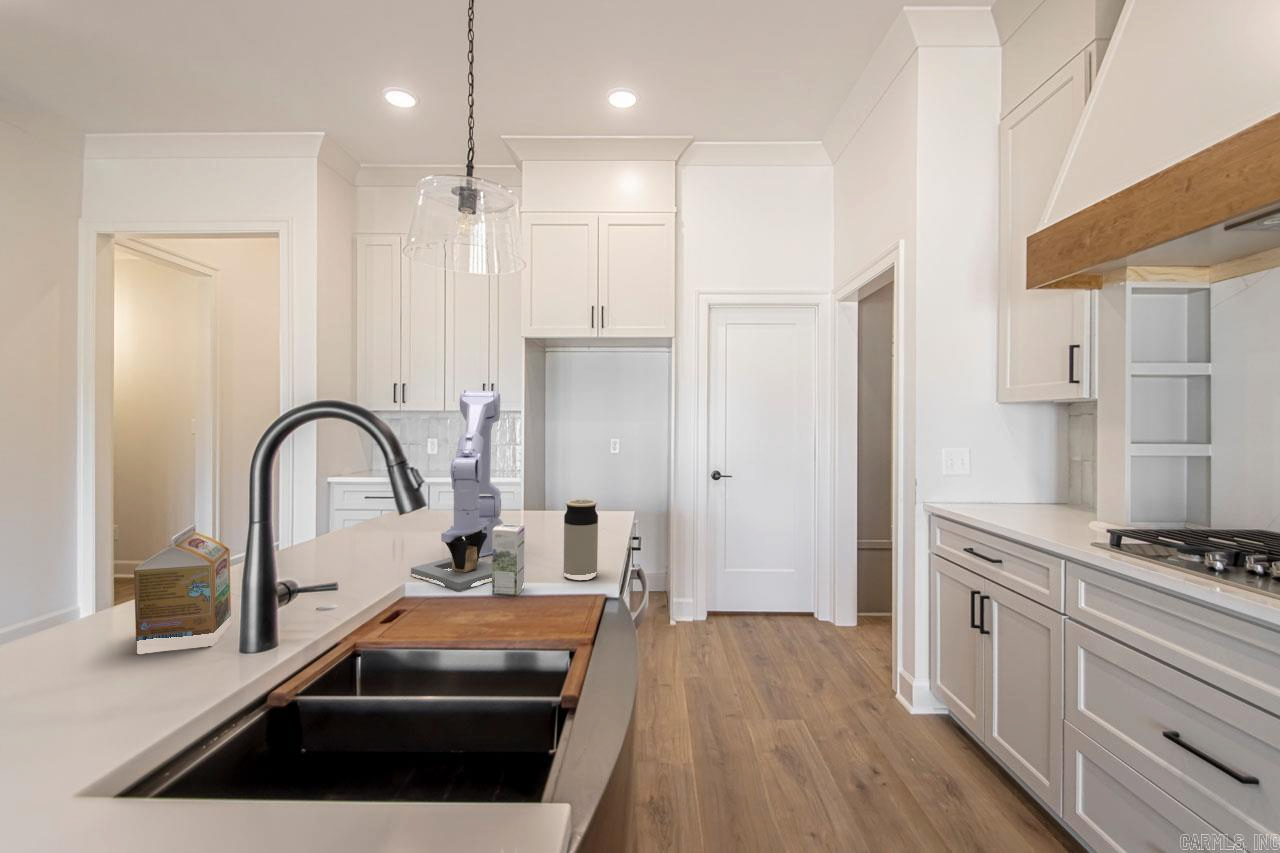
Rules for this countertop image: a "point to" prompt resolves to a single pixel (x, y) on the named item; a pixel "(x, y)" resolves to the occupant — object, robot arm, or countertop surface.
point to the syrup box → (508, 559)
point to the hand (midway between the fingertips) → (466, 566)
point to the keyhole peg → (468, 560)
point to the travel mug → (580, 537)
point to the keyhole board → (453, 574)
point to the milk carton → (183, 588)
